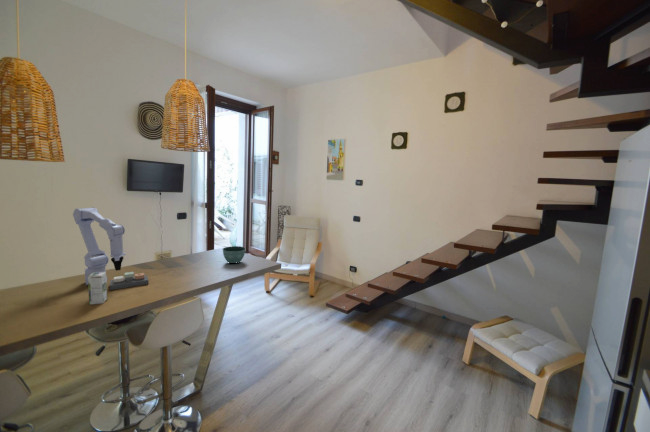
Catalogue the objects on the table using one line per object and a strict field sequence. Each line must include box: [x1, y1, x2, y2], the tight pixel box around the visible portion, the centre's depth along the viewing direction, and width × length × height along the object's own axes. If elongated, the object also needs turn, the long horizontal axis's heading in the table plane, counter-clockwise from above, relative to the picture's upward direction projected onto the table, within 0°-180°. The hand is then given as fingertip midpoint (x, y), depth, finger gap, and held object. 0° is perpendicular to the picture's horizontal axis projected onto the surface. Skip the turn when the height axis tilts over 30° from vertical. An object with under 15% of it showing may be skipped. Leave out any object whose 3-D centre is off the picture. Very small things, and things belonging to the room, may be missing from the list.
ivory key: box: [113, 275, 124, 283], centre depth 161 cm, size 4×4×5 cm
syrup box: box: [87, 271, 108, 305], centre depth 140 cm, size 6×6×14 cm
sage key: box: [123, 271, 135, 282], centre depth 164 cm, size 4×4×5 cm
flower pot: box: [222, 245, 246, 263], centre depth 211 cm, size 16×16×11 cm
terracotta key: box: [134, 272, 145, 280], centre depth 167 cm, size 4×4×5 cm
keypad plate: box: [109, 274, 149, 291], centre depth 164 cm, size 18×10×2 cm, turn 125°
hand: (118, 270), depth 160 cm, fingers closed
